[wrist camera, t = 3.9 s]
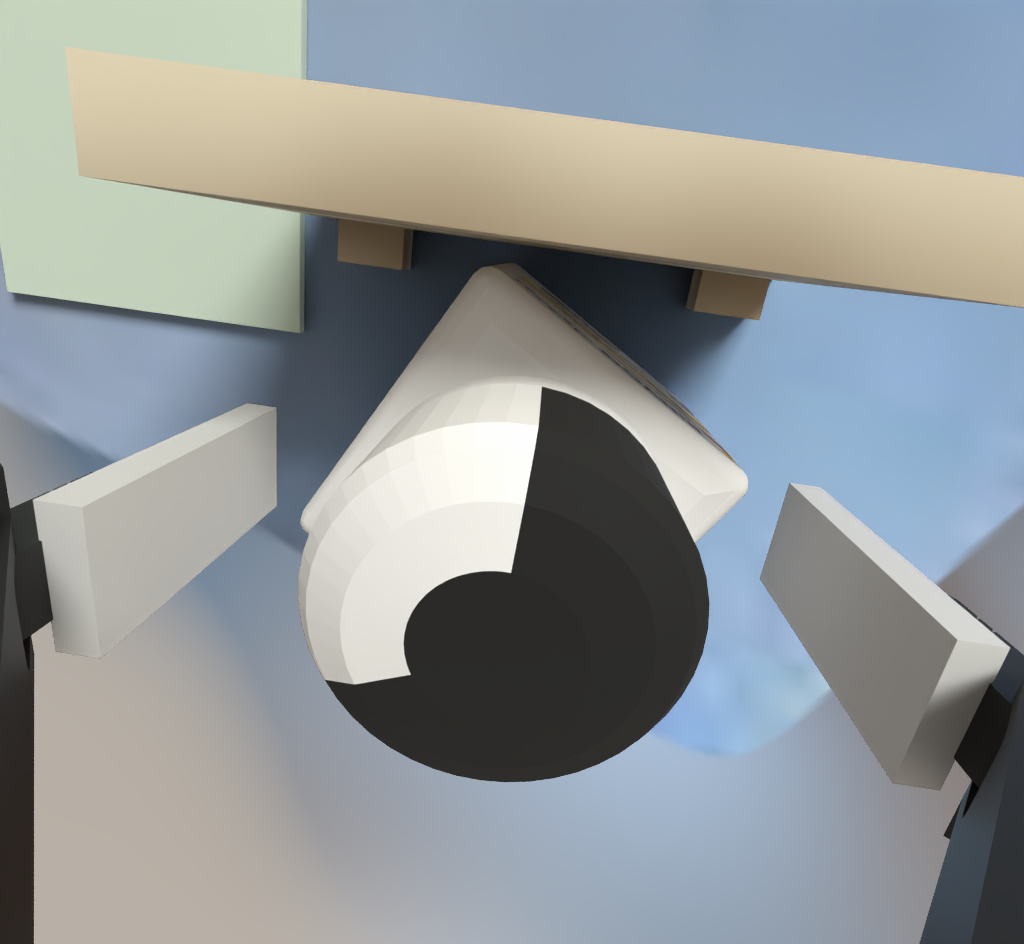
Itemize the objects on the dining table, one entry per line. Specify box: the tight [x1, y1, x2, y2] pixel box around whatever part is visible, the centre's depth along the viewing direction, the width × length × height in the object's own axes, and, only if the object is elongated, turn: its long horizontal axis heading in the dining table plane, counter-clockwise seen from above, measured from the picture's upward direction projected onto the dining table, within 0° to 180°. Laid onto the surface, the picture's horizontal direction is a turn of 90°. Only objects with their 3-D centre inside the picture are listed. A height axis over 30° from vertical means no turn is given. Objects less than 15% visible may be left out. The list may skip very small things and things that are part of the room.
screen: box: [65, 47, 1024, 320], centre depth 13 cm, size 4×14×11 cm, turn 82°
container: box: [298, 262, 748, 782], centre depth 15 cm, size 8×8×13 cm
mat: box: [0, 0, 307, 333], centre depth 18 cm, size 10×10×1 cm
